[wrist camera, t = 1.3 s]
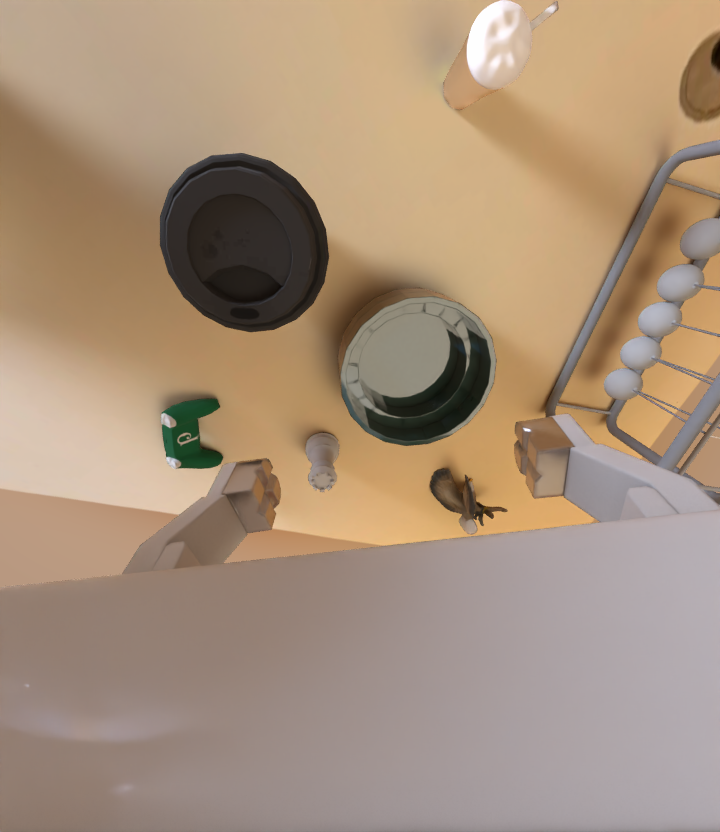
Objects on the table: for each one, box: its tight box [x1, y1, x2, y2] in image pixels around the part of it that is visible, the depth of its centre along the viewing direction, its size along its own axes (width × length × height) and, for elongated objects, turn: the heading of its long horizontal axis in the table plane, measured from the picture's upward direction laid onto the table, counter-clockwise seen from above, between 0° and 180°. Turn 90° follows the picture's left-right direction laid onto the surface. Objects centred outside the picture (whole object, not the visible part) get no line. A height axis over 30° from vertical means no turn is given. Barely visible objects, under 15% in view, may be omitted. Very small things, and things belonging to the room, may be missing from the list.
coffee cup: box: [160, 153, 329, 332], centre depth 30 cm, size 11×11×15 cm
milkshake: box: [443, 0, 559, 110], centre depth 28 cm, size 4×5×10 cm
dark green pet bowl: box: [338, 288, 496, 446], centre depth 41 cm, size 16×16×6 cm
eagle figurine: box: [430, 469, 508, 534], centre depth 51 cm, size 8×7×9 cm
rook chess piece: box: [305, 433, 340, 492], centre depth 44 cm, size 4×4×8 cm
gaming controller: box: [161, 399, 223, 469], centre depth 44 cm, size 9×4×6 cm
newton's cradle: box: [545, 140, 720, 505], centre depth 36 cm, size 30×10×18 cm, turn 168°
